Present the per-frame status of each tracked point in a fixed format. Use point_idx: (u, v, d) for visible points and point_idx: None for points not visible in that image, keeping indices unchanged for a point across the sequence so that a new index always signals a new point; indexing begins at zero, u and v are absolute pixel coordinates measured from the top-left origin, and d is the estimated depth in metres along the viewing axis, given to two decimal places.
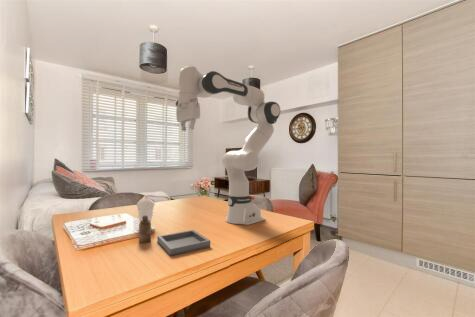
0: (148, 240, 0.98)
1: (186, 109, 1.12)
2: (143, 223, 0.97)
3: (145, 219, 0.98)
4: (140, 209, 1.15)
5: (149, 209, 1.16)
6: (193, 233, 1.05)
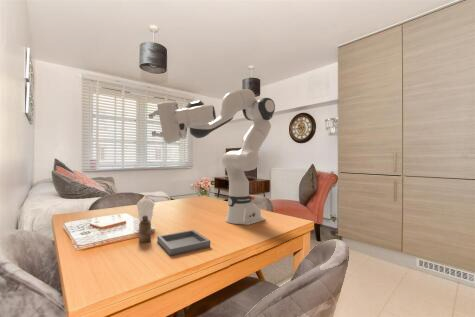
0: (148, 240, 0.98)
1: None
2: (143, 223, 0.97)
3: (145, 219, 0.98)
4: (140, 209, 1.15)
5: (149, 209, 1.16)
6: (193, 233, 1.05)
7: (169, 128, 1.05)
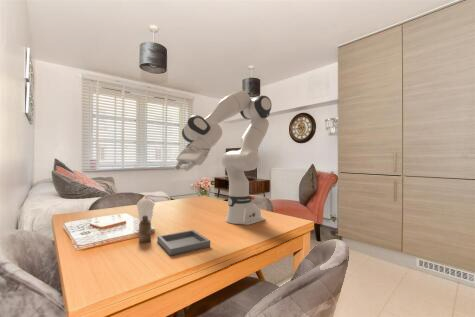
0: (148, 240, 0.98)
1: (193, 153, 1.13)
2: (143, 223, 0.97)
3: (145, 219, 0.98)
4: (140, 209, 1.15)
5: (149, 209, 1.16)
6: (193, 233, 1.05)
7: None
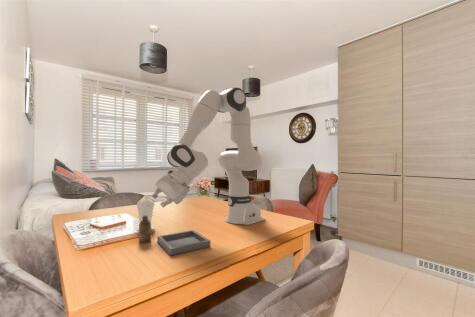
0: (148, 240, 0.98)
1: (173, 186, 1.08)
2: (143, 223, 0.97)
3: (145, 219, 0.98)
4: (140, 209, 1.15)
5: (149, 209, 1.16)
6: (193, 233, 1.05)
7: None
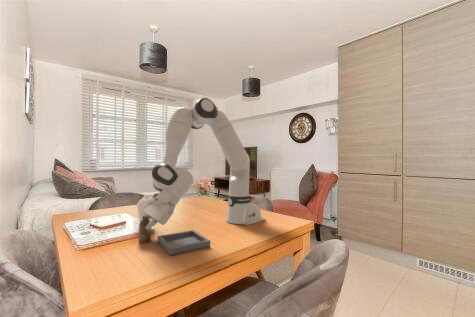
0: (148, 240, 0.98)
1: (158, 207, 1.01)
2: (143, 223, 0.97)
3: (145, 219, 0.98)
4: (140, 209, 1.15)
5: None
6: (193, 233, 1.05)
7: None
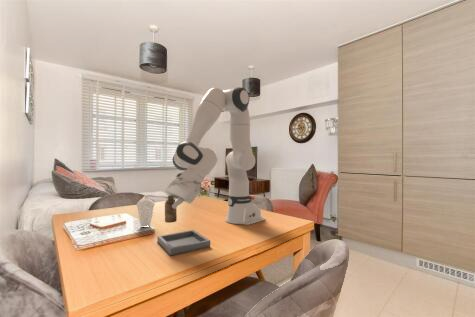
0: (174, 220, 0.97)
1: (183, 186, 0.99)
2: (169, 202, 0.96)
3: (171, 198, 0.97)
4: (140, 209, 1.15)
5: (149, 209, 1.16)
6: (193, 233, 1.05)
7: None
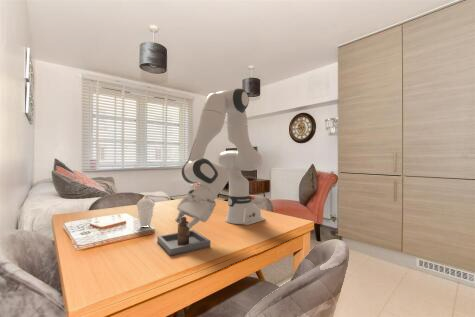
0: (187, 242, 0.95)
1: (196, 204, 0.98)
2: (182, 224, 0.94)
3: (184, 220, 0.95)
4: (140, 209, 1.15)
5: (149, 209, 1.16)
6: (193, 233, 1.05)
7: None
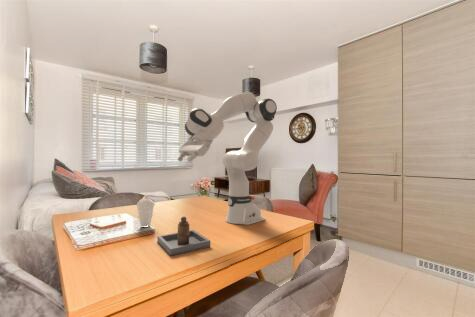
0: (187, 242, 0.95)
1: (195, 144, 1.16)
2: (182, 224, 0.94)
3: (184, 220, 0.95)
4: (140, 209, 1.15)
5: (149, 209, 1.16)
6: (193, 233, 1.05)
7: None
